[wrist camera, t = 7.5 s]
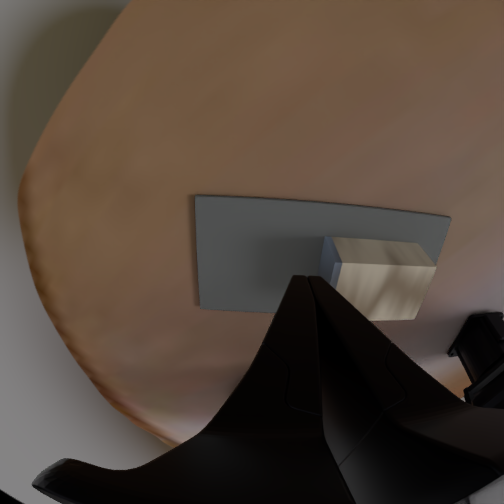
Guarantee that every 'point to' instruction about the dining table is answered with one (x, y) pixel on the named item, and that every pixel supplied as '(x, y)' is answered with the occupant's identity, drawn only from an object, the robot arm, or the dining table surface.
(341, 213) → the mat
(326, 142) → the dining table surface
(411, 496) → the robot arm
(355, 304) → the block
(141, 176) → the dining table surface
